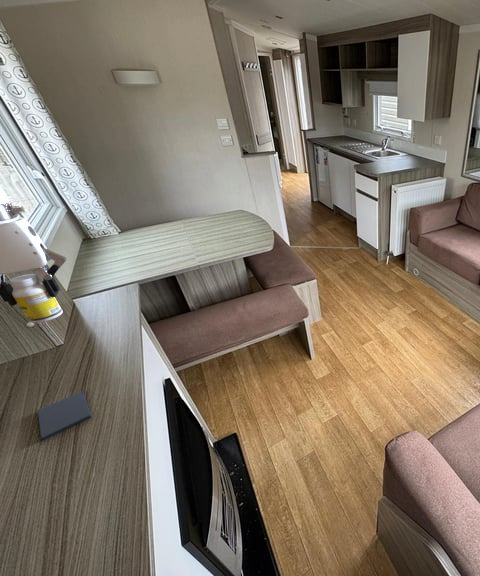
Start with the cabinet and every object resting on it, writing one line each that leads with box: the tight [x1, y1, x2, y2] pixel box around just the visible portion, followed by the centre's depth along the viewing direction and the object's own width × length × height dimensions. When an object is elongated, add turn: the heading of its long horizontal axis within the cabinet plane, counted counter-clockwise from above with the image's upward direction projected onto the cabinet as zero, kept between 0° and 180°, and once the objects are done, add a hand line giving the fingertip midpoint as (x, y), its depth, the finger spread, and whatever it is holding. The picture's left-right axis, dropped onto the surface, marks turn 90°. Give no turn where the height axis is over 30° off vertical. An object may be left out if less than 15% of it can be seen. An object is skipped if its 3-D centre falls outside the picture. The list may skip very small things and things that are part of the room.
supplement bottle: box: [8, 273, 63, 324], centre depth 66 cm, size 5×5×10 cm
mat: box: [37, 390, 92, 441], centre depth 62 cm, size 10×7×1 cm
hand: (35, 298), depth 66 cm, fingers closed on supplement bottle, 5 cm apart
